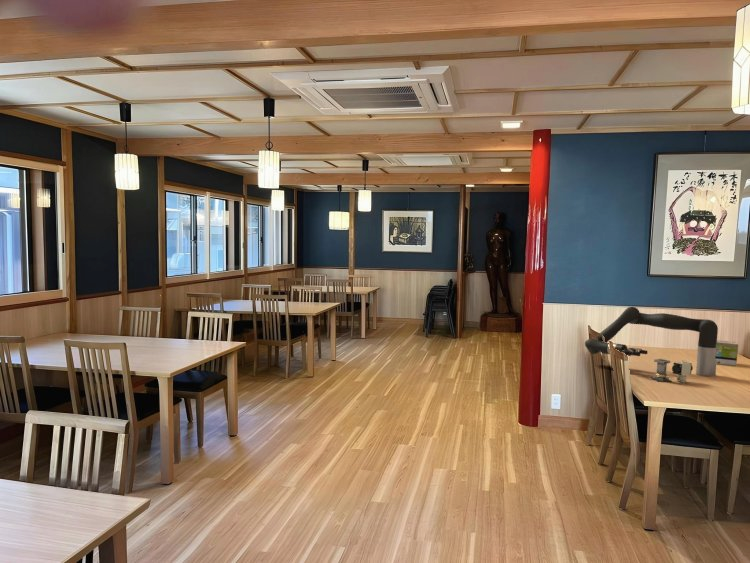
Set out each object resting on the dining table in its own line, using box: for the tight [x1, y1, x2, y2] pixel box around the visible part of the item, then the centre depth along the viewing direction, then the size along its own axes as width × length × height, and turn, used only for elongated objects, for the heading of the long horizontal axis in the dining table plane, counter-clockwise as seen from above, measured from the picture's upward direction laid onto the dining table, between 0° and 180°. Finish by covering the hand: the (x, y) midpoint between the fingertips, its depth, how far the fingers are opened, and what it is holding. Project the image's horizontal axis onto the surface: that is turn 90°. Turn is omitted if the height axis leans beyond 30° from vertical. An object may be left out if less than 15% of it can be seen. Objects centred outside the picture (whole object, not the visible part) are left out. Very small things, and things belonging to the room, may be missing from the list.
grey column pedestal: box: [652, 358, 671, 381], centre depth 310 cm, size 6×6×11 cm
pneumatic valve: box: [671, 360, 694, 383], centre depth 307 cm, size 6×12×12 cm, turn 115°
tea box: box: [715, 339, 739, 366], centre depth 360 cm, size 15×10×15 cm, turn 68°
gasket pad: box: [650, 376, 673, 383], centre depth 310 cm, size 8×8×1 cm
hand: (643, 353), depth 319 cm, fingers open, 8 cm apart
